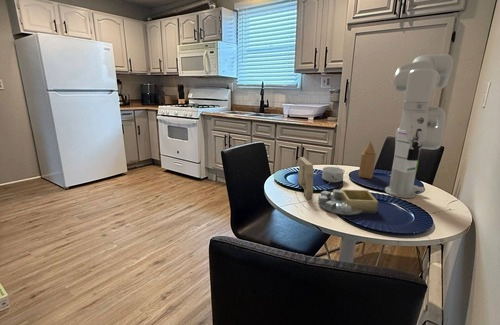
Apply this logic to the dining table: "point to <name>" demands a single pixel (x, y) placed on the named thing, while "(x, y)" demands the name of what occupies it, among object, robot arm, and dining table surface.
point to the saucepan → (332, 174)
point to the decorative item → (367, 162)
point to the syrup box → (404, 154)
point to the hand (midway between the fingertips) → (406, 156)
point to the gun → (306, 177)
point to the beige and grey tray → (348, 202)
